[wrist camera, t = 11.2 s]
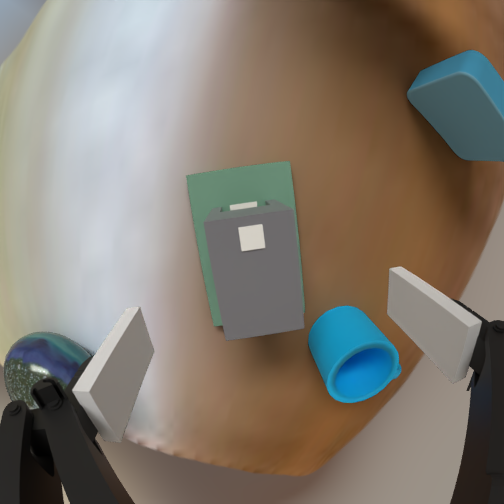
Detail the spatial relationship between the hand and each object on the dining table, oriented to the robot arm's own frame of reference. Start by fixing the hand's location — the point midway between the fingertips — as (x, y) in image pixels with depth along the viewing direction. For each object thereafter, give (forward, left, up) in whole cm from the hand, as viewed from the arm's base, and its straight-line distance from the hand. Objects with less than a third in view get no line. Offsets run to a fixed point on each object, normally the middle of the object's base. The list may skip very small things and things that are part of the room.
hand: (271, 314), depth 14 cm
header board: (0, 0, -16) cm, 16 cm away
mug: (+14, +11, -17) cm, 24 cm away
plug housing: (0, 0, -15) cm, 15 cm away
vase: (+13, -27, -17) cm, 35 cm away
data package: (-13, +26, -17) cm, 33 cm away
